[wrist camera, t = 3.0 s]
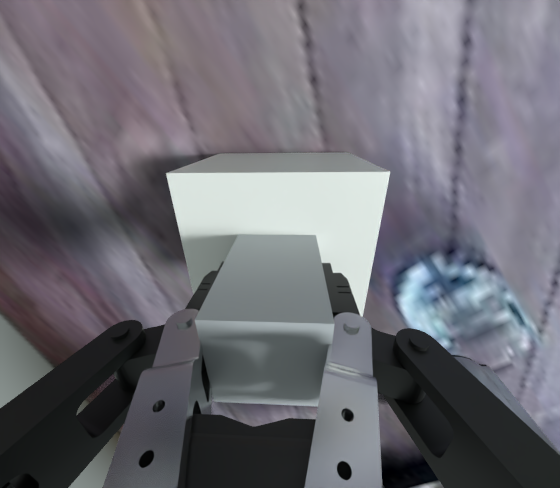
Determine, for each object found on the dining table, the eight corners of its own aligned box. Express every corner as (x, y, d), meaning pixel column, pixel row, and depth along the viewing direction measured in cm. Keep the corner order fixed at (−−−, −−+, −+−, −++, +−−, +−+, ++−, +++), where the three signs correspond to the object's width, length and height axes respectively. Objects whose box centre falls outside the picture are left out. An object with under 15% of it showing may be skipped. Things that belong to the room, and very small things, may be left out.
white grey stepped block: (348, 152, 18) (494, 220, 5) (336, 264, 23) (395, 453, 10) (219, 153, 19) (42, 218, 6) (232, 262, 23) (153, 440, 10)
